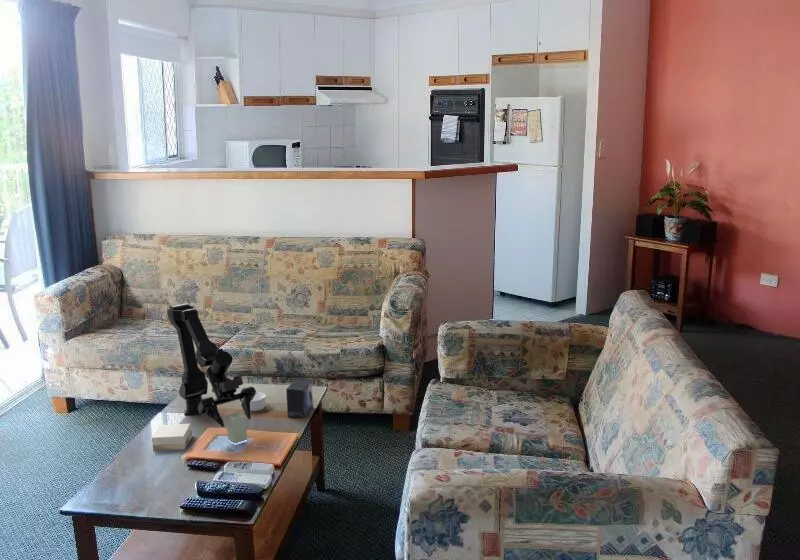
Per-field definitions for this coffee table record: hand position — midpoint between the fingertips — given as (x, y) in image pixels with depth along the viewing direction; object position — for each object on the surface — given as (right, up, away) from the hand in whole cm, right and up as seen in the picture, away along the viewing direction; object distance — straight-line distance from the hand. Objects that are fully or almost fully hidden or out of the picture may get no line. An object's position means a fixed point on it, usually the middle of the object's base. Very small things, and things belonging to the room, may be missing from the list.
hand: (236, 422), depth 241 cm
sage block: (0, -7, +2) cm, 7 cm away
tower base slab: (-21, -8, +2) cm, 23 cm away
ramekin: (-1, -1, +31) cm, 31 cm away
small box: (+17, -1, +25) cm, 31 cm away
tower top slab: (-21, -5, +2) cm, 22 cm away
